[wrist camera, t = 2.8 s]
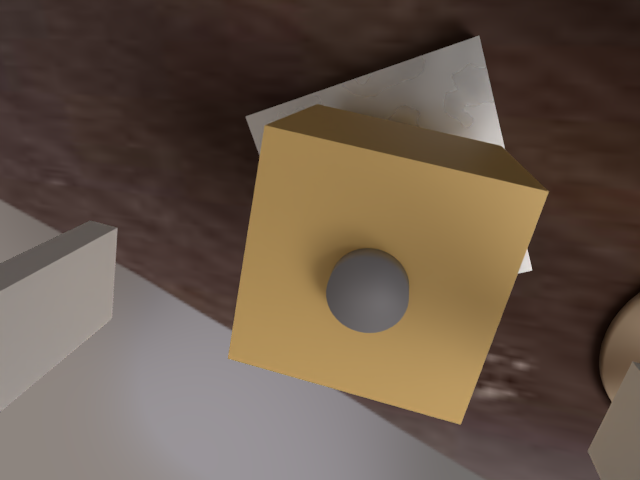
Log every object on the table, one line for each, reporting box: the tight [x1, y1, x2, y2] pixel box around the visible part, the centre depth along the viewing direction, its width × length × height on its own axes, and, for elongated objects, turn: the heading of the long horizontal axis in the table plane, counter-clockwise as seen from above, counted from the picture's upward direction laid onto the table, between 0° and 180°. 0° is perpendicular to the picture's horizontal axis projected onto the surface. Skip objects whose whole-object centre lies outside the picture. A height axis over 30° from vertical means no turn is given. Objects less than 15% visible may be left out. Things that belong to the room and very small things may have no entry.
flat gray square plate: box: [246, 36, 532, 273], centre depth 22 cm, size 12×12×12 cm
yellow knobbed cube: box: [228, 104, 549, 425], centre depth 19 cm, size 8×8×9 cm
